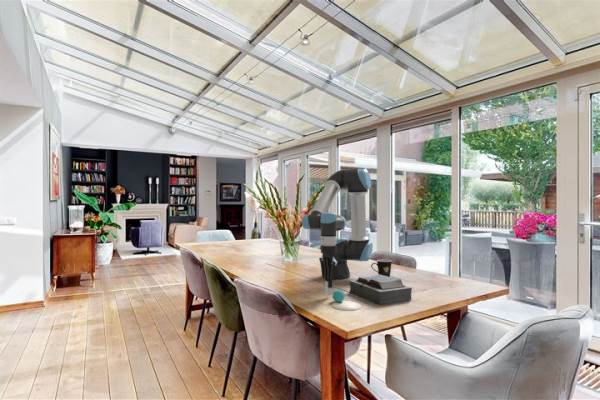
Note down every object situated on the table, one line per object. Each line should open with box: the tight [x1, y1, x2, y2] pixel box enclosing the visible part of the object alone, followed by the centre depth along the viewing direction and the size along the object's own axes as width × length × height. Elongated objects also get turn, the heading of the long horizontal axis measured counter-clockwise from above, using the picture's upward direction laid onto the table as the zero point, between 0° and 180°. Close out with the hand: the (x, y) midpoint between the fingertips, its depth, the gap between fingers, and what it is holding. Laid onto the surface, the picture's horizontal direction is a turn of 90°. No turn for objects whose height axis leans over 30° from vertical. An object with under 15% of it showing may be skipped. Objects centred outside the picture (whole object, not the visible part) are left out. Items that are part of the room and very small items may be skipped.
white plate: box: [331, 300, 362, 312], centre depth 155 cm, size 13×13×1 cm
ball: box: [332, 289, 346, 302], centre depth 161 cm, size 6×6×6 cm
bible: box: [349, 274, 413, 306], centre depth 170 cm, size 23×27×10 cm
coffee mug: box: [371, 258, 392, 277], centre depth 211 cm, size 12×9×10 cm
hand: (328, 294), depth 167 cm, fingers closed
